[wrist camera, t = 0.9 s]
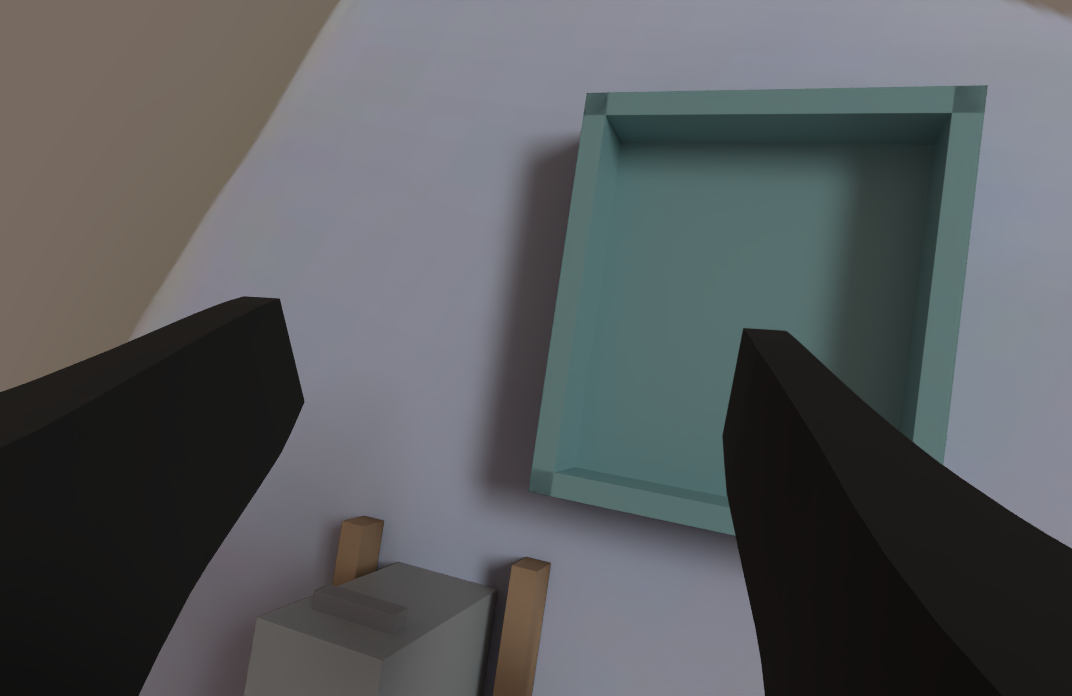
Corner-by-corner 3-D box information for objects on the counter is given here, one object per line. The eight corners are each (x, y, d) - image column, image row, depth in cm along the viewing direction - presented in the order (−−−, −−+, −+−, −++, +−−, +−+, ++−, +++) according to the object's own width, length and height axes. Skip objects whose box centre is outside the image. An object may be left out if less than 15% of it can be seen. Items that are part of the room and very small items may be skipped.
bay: (509, 845, 24) (493, 872, 23) (324, 766, 27) (299, 785, 26) (551, 562, 25) (537, 571, 24) (364, 515, 28) (342, 520, 27)
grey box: (470, 771, 25) (342, 920, 18) (373, 733, 27) (217, 855, 19) (500, 573, 26) (386, 638, 18) (401, 547, 27) (259, 597, 20)
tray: (909, 555, 21) (930, 577, 18) (556, 482, 25) (528, 491, 22) (960, 128, 22) (987, 85, 19) (607, 128, 26) (586, 92, 23)
